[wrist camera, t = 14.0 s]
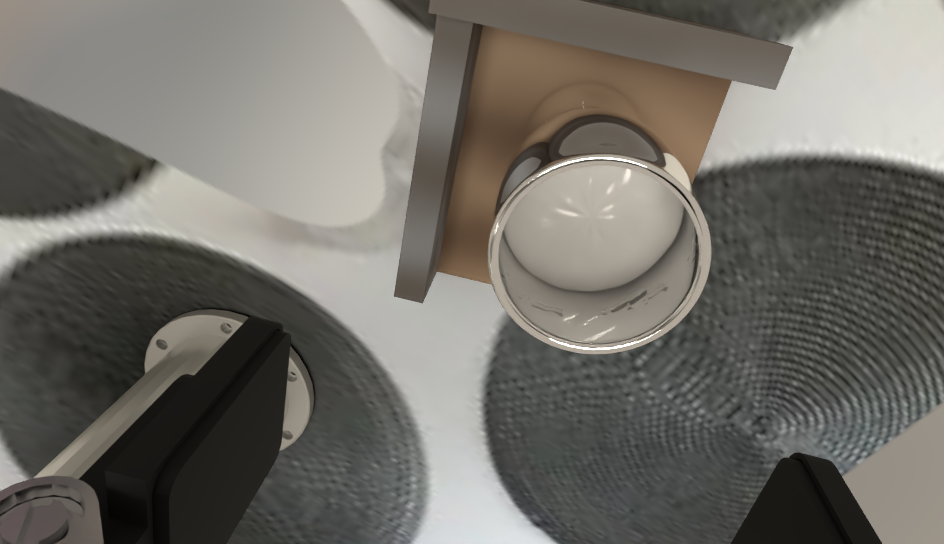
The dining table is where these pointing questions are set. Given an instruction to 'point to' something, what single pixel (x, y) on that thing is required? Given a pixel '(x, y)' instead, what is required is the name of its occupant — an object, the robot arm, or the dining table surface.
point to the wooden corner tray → (529, 83)
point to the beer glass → (596, 227)
